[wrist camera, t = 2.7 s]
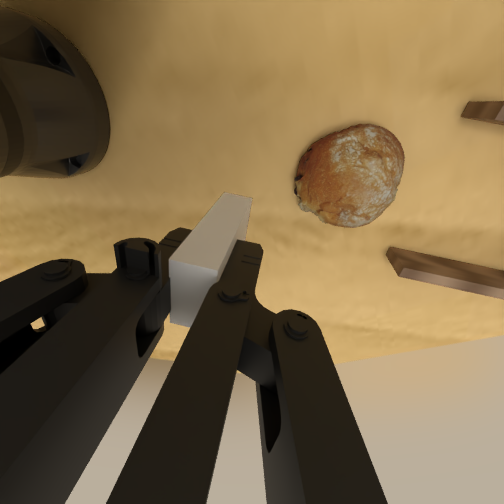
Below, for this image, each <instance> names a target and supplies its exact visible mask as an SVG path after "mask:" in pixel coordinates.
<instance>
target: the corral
mask: <svg viewBox="0 0 504 504" xmlns="http://www.w3.org/2000/svg"><path fill="white" fill-rule="evenodd" d="M461 117H464V118H469V119H474V120H480V121H485V122H490V123H495V124H501V125H504V101H485V102H469V103H468V104H467V106H466V108H465V110H464V112H463V114H462V116H461ZM386 256H387V258H388V260H389V261H390V263H391V265H392V266H393V268H394V270H395V271H396V273H397V275H398V276H399V277H403V278H408V279H412V280H417V281H421V282H426V283H431V284H435V285H440V286H444V287H449V288H453V289H458V290H462V291H467V292H472V293H476V294H481V295H485V296H490V297H494V298H499V299H504V271H501V270H497V269H492V268H487V267H483V266H478V265H473V264H469V263H464V262H459V261H455V260H450V259H445V258H441V257H436V256H431V255H427V254H422V253H417V252H413V251H408V250H403V249H399V248H394V247H390V248H389V250H388V251H387V253H386Z"/></svg>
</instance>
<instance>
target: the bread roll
mask: <svg viewBox="0 0 504 504" xmlns="http://www.w3.org/2000/svg"><path fill="white" fill-rule="evenodd" d="M403 166H404V152H403V149H402V146H401V143H400V142H399V141H398V139H397V138H396V137H395V136H394V134H392V133H391V132H390V131H388V130H387V129H385V128H383V127H380V126H376V125H372V124H365V125H362V124H359V125H356V126H351V127H349V128H348V129H344V130H342V131H340V132H334V133H333V134H330V135H328V136H326V137H325V138H321V139H320V140H319V141H317V142H315V143H313V144H312V145H311V146H310V147H309V149H308V151H307V152H306V153H305V154H304V155H303V156H302V158H301V160H300V162H299V167H298V171H297V177H295V183H296V188H295V190H294V193H295V194H296V195H297V197H300V198H301V199H300V201H299V203H298V205H299V206H300V208H301V210H303V211H305V212H309V211H310V212H312V213H314V214H315V215H316V216H318V218H319V219H320V220H321V221H322V222H323V223H329V224H332V225H335V226H341V227H350V228H355V227H360V226H364V225H367V224H369V223H371V222H372V221H373V220H375V219H376V218H378V217H379V216H380V215H381V214H382V213H383V211H384V210H385V209H386V208H387V207H388V206H389V205H390V204H391V203H392V202H393V201H394V200H395V196H396V192H397V190H398V189H397V186H398V185H399V184H400V179H401V177H402V173H403Z"/></svg>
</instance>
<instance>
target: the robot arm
mask: <svg viewBox="0 0 504 504" xmlns="http://www.w3.org/2000/svg"><path fill="white" fill-rule="evenodd" d="M109 134H110V125H109V116H108V110H107V106H106V102H105V99H104V96H103V93H102V91H101V88H100V86H99V84H98V81H97V79H96V77H95V76H94V74H93V72H92V70H91V69H90V67H89V65H88V64H87V62H86V61H85V59H84V58H83V57H82V55H81V54H80V53H79V52H78V50H77V49H76V48H75V47H74V46H73V45H72V44H71V43H70V42H69V41H68V40H67V39H66V38H65V37H64V36H63V35H62V34H61V33H60V32H58V31H57V30H56V29H55V28H53V27H52V26H50V25H49V24H47V23H46V22H44V21H42V20H40V19H38V18H36V17H34V16H31V15H28V14H25V13H22V12H19V11H16V10H13V9H10V8H7V7H2V6H0V177H3V176H8V175H9V176H24V177H40V178H58V179H59V178H68V177H72V176H76V175H79V174H82V173H85V172H87V171H89V170H91V169H93V168H94V167H95V166H96V165H97V164H98V163H99V162H100V161H101V160H102V158H103V156H104V154H105V152H106V149H107V146H108V142H109ZM251 203H252V198H249V197H245V196H240V195H235V194H231V193H226V192H224V193H223V194H222V196H221V197H220V198H219V199H218V200H217V202H216V203H215V204H214V205H213V206H212V208H211V209H210V210H209V211H208V212H207V214H206V215H205V216H204V217H203V218H202V220H201V221H200V222H199V223H198V224H197V226H196V227H195V228H194V229H193V230H190V229H185V228H181V227H180V228H177V229H175V230H173V231H170V232H169V233H168V234H167V235H166V236H165V237H164V239H162V240H161V241H160V242H159V244H158V243H156V242H155V241H153V240H150V239H146V238H129V239H125V240H121V241H119V242H117V243H115V244H114V251H115V257H116V263H117V268H116V269H115V270H114V271H113V272H112V273H86V271H85V267H84V264H82V263H81V262H80V261H77V260H73V259H58V260H51V261H48V262H45V263H42V264H40V265H37V266H35V267H33V268H31V269H28V270H26V271H24V272H22V273H19V274H17V275H15V276H13V277H10V278H8V279H6V280H4V281H1V282H0V504H65V502H66V500H67V499H68V497H69V495H70V494H71V492H72V490H73V488H74V487H75V485H76V483H77V481H78V480H79V478H80V476H81V474H82V473H83V471H84V469H85V467H86V466H87V464H88V462H89V461H90V459H91V457H92V455H93V454H94V452H95V450H96V449H97V447H98V445H99V443H100V442H101V440H102V438H103V437H104V435H105V433H106V431H107V429H108V428H109V426H110V424H111V423H112V421H113V419H114V418H115V416H116V414H117V412H118V411H119V409H120V407H121V406H122V404H123V402H124V400H125V399H126V397H127V395H128V393H129V392H130V390H131V388H132V386H133V385H134V383H135V381H136V380H137V378H138V376H139V374H140V373H141V371H142V369H143V367H144V366H145V364H146V362H147V361H148V358H149V357H150V355H151V354H152V352H153V350H154V349H155V347H156V345H157V343H158V342H159V340H160V338H161V336H162V334H163V331H164V321H165V319H166V317H167V316H168V314H169V312H170V323H174V324H178V325H182V326H186V327H190V330H189V332H188V334H187V336H186V338H185V340H184V342H183V344H182V346H181V348H180V350H179V353H178V355H177V357H176V359H175V361H174V363H173V365H172V367H171V369H170V371H169V373H168V375H167V378H166V380H165V382H164V384H163V386H162V388H161V390H160V392H159V394H158V396H157V398H156V400H155V403H154V405H153V407H152V409H151V411H150V413H149V415H148V417H147V419H146V422H145V423H144V425H143V428H142V430H141V432H140V434H139V436H138V438H137V440H136V442H135V444H134V446H133V448H132V450H131V453H130V455H129V457H128V459H127V461H126V463H125V465H124V467H123V469H122V471H121V473H120V476H119V477H118V480H117V482H116V484H115V486H114V488H113V490H112V492H111V495H110V496H109V499H108V501H107V502H106V504H206V502H207V498H208V494H209V489H210V485H211V481H212V476H213V472H214V468H215V463H216V459H217V455H218V450H219V446H220V441H221V437H222V433H223V428H224V424H225V420H226V415H227V411H228V406H229V402H230V398H231V393H232V389H233V385H234V380H235V375H236V371H237V370H238V371H240V372H242V373H243V374H245V375H246V376H248V377H249V378H251V379H252V380H254V381H256V392H257V403H258V414H259V425H260V435H261V446H262V457H263V467H264V478H265V489H266V500H267V504H388V503H387V500H386V498H385V495H384V492H383V490H382V487H381V485H380V482H379V479H378V477H377V474H376V472H375V469H374V467H373V464H372V461H371V459H370V456H369V454H368V451H367V448H366V446H365V443H364V441H363V438H362V435H361V433H360V430H359V428H358V425H357V423H356V420H355V417H354V415H353V412H352V410H351V407H350V405H349V402H348V399H347V397H346V394H345V392H344V389H343V386H342V384H341V381H340V379H339V376H338V373H337V371H336V368H335V366H334V363H333V361H332V358H331V355H330V353H329V350H328V348H327V345H326V342H325V340H324V337H323V335H322V332H321V329H320V328H319V326H318V324H317V323H316V321H315V320H313V319H312V318H311V317H310V316H309V315H307V314H305V313H303V312H301V311H297V310H292V309H291V310H283V311H281V312H279V313H277V314H275V313H273V312H271V311H270V310H268V309H266V308H265V307H263V306H262V305H261V304H260V303H259V302H258V300H257V299H256V296H255V287H256V283H257V278H258V274H259V269H260V265H261V260H262V256H263V249H262V247H261V245H260V244H257V243H252V242H248V241H245V238H246V232H247V226H248V221H249V215H250V209H251ZM40 317H42V320H43V322H44V324H45V326H43V327H41V328H39V329H33V328H32V326H31V324H30V323H32V322H34V321H35V320H37V319H38V318H40Z"/></svg>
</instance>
